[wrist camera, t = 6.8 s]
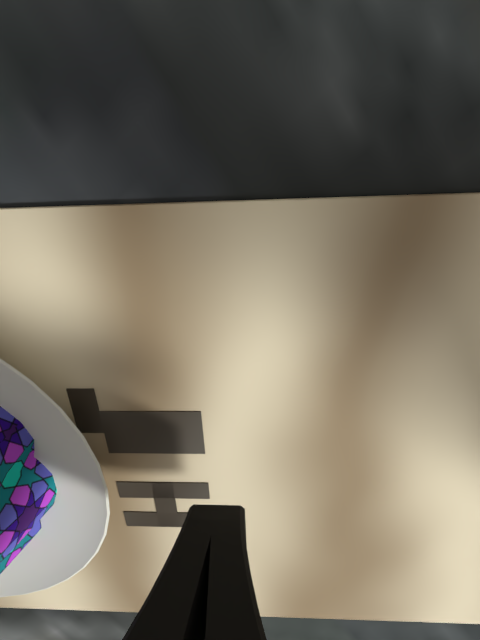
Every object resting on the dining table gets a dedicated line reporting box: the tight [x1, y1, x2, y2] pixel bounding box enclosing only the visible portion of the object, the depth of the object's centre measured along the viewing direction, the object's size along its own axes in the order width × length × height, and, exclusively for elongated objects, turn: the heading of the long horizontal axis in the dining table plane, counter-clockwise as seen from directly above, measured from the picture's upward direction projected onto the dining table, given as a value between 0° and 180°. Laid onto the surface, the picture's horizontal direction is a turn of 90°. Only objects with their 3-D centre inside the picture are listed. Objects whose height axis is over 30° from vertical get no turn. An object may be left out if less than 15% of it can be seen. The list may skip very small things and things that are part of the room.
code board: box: [0, 192, 480, 624], centre depth 12 cm, size 28×16×1 cm, turn 92°
